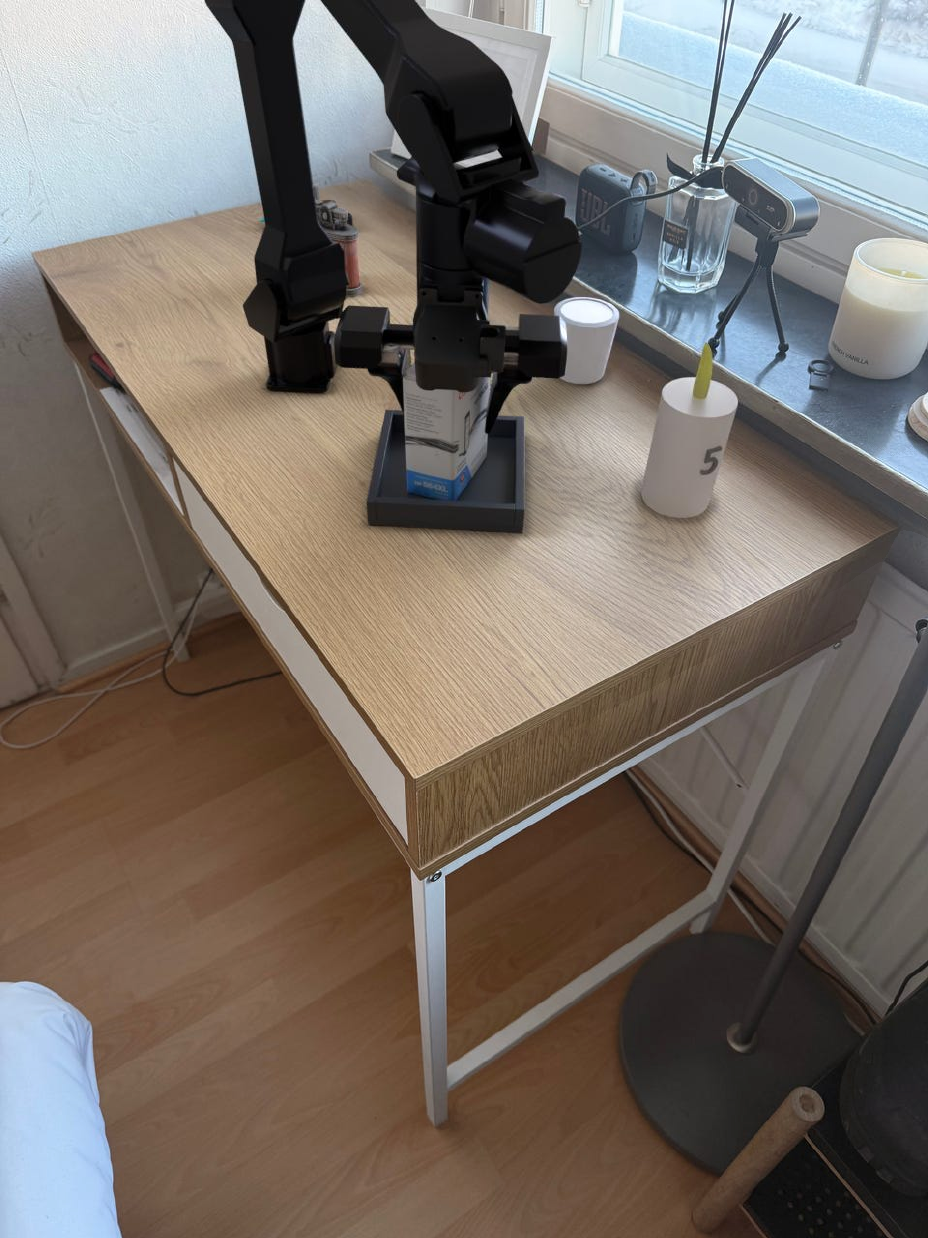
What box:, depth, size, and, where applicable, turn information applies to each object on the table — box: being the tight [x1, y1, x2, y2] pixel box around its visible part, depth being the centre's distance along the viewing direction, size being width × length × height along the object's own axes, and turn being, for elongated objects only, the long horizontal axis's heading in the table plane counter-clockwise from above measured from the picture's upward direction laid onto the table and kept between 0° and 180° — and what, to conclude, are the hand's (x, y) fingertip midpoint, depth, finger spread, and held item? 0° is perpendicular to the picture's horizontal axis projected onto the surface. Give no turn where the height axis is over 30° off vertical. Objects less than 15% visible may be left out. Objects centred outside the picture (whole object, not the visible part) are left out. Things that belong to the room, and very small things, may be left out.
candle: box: [640, 342, 739, 519], centre depth 75 cm, size 6×6×15 cm
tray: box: [366, 409, 525, 534], centre depth 80 cm, size 14×15×3 cm
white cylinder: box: [553, 296, 620, 385], centre depth 93 cm, size 7×7×7 cm
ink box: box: [403, 361, 491, 501], centre depth 77 cm, size 9×5×12 cm, turn 157°
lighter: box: [315, 199, 362, 297], centre depth 105 cm, size 8×3×10 cm, turn 58°
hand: (450, 429), depth 77 cm, fingers open, 6 cm apart
